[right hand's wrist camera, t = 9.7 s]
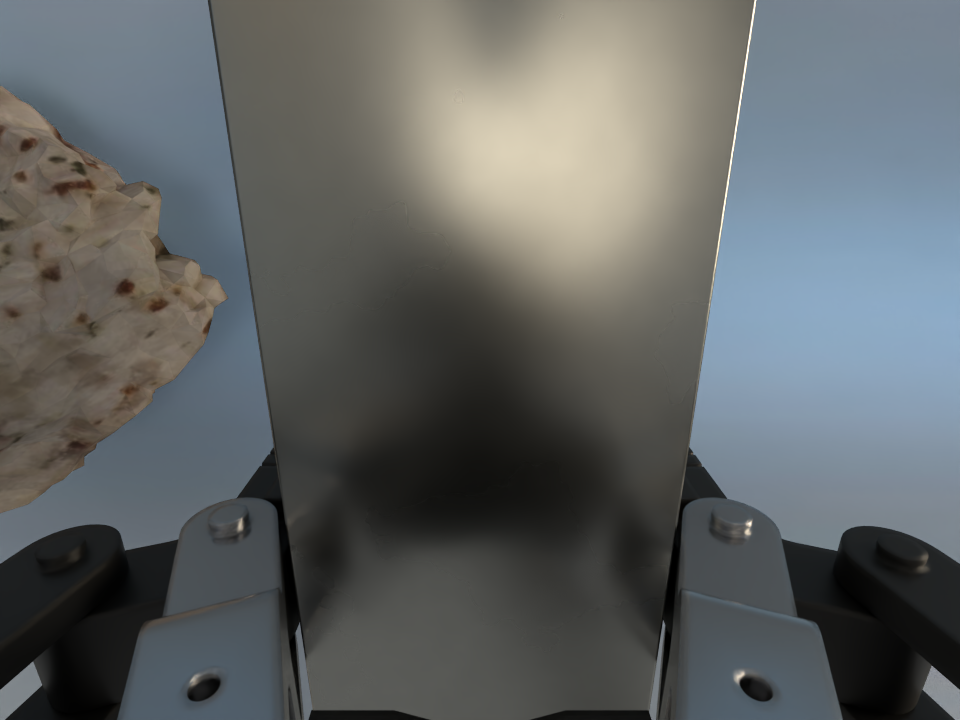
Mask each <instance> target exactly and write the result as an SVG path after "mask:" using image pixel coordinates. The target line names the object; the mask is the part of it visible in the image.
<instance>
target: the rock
mask: <svg viewBox="0 0 960 720" xmlns="http://www.w3.org/2000/svg"><path fill="white" fill-rule="evenodd" d="M160 207H161V195H160V192H159V189H158V188H156V187H154V186H152V185H150V184H148V183H145V182H143V181H141V182H137V183H133V184H128V185H126V184H125V183H124V182H123V180H122V178H121V176H120V174H119V173H118V172H117V171H116V169H115V168H112V167H111V166H109V165H107V164H106V163H104V162H102V161H101V160H99V159H97V158H96V157H94V156H92V155H90V154H89V153H87V152H85V151H83V150H81V149H79V148H77V147H75V146H74V145H72V144H70V143H68V142H66V141H64V140H63V138H62V137H61V135H60V134H59V132H58V131H57V129H56V128H54V127H53V126H52V125H51V124H50V123H49V122H48V121H47V120H46V119H44V118H43V117H42V116H41V115H40V114H39V113H38V112H37V111H36V110H35V109H34V108H33V107H31V106H30V105H29V104H26V103H24V102H22V101H21V100H20V99H18V98H17V97H16V96H14V95H13V94H12V93H10V92H9V91H7V90H6V89H5V88H3V87H2V86H0V513H2V512H5V511H9V510H12V509H15V508H18V507H21V506H24V505H27V504H29V503H30V502H32V501H33V500H34V499H36V498H37V497H39V496H40V495H41V494H43V493H44V492H45V491H46V490H47V489H48V488H50V487H51V486H52V485H53V484H55V483H57V482H60V481H62V480H63V479H64V478H66V477H67V476H68V475H69V474H70V473H71V472H72V471H74V470H76V469H78V468H80V467H82V466H84V456H86V455H87V454H88V453H90V452H91V451H93V450H94V449H95V448H96V444H97V443H98V442H100V441H102V440H103V439H105V438H106V437H108V436H109V435H111V434H112V433H114V432H115V431H116V430H118V429H119V428H120V427H121V426H123V425H124V424H125V423H127V422H128V421H129V420H130V419H132V418H133V417H134V416H136V415H137V414H138V413H139V412H140V411H142V410H143V409H144V408H145V407H146V406H147V405H149V404H150V403H151V402H152V401H153V399H152V394H153V393H154V392H155V389H157V388H159V387H161V386H163V385H165V384H167V383H169V382H171V381H172V380H174V379H175V378H176V377H177V376H178V374H179V373H180V372H181V371H182V369H183V368H184V367H185V366H186V365H187V363H188V362H189V361H190V360H191V358H192V357H193V356H194V355H195V354H196V353H197V352H198V350H199V349H200V348H201V347H202V346H203V345H204V342H205V339H206V337H207V334H208V332H209V328H210V325H211V321H212V317H213V312H214V308H215V307H216V306H218V305H219V304H220V303H222V302H223V301H225V300H226V299H228V297H227V295H226V293H225V292H224V290H223V288H222V287H221V285H220V283H219V282H218V280H217V279H215V278H214V277H212V276H209V275H204V274H201V270H200V266H199V265H198V263H197V262H196V261H195V260H192V259H189V258H185V257H181V256H177V255H173V254H170V253H169V252H168V250H167V249H166V247H165V246H164V244H163V243H162V241H161V240H160V238H159V237H158V236H157V234H158V226H159V216H160Z"/></svg>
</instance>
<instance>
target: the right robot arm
mask: <svg viewBox="0 0 960 720" xmlns="http://www.w3.org/2000/svg"><path fill="white" fill-rule="evenodd" d="M663 620H664V623H665V632H664V638H663V645H662V656H661V668H660V680H659V691H658V703H657V715H656V720H955V719H954V718H952V717H951V716H950V715H949V714H948V713H947V712H946V711H945V710H944V709H943V708H942V707H941V706H939V705H938V704H937V703H936V702H935V701H934V700H933V699H932V698H931V697H930V696H929V695H928V694H926V693H925V692H924V691H923V690H922V689H923V687H924V684H925V681H926V679H927V676H928V674H929V671H930V668H931V666H933V667H934V668H935V669H937V670H938V671H939V672H940V673H941V674H942V675H944V676H945V677H946V678H947V679H948V680H949V681H950V682H952V683H953V684H954V685H955V686H956V687H957V688H959V689H960V564H959V563H958V562H956V561H955V560H953V559H951V558H950V557H948V556H947V555H945V554H944V553H942V552H941V551H939V550H938V549H936V548H934V547H933V546H931V545H929V544H928V543H926V542H924V541H922V540H920V539H917V538H915V537H913V536H910V535H907V534H905V533H902V532H898V531H895V530H891V529H887V528H882V527H874V526H859V527H854V528H850V529H848V530H846V531H845V532H844V533H843V535H842V537H841V541H840V544H839V548H838V551H834V550H829V549H824V548H819V547H814V546H809V545H804V544H799V543H795V542H790V541H787V540H783V539H781V534H780V532H779V529H778V527H777V526H776V524H775V523H774V522H773V521H772V520H771V519H770V518H769V517H767V516H766V515H765V514H763V513H762V512H760V511H759V510H757V509H755V508H753V507H751V506H749V505H746V504H744V503H741V502H737V501H734V500H730V499H727V498H726V496H725V495H724V494H723V492H722V491H721V490H720V488H719V487H718V485H717V484H716V483H715V481H714V480H713V479H712V477H711V476H710V475H709V473H708V472H707V471H706V469H705V468H704V467H702V464H701V462H700V461H699V460H698V458H697V457H696V456H695V455H693V452H692V450H691V449H690V448H689V450H688V457H687V464H686V470H685V477H684V483H683V490H682V497H681V503H680V510H679V517H678V523H677V530H676V536H675V543H674V550H673V556H672V563H671V570H670V576H669V583H668V589H667V596H666V603H665V609H664V616H663ZM299 622H300V619H299V612H298V605H297V599H296V592H295V585H294V578H293V572H292V565H291V558H290V551H289V545H288V538H287V531H286V524H285V518H284V511H283V504H282V497H281V491H280V484H279V477H278V470H277V464H276V457H275V450H274V448H273V449H272V450H271V452H270V455H268V456H267V457H266V459H265V460H264V461H263V463H262V466H260V467H259V468H258V470H257V471H256V472H255V474H254V475H253V476H252V478H251V479H250V481H249V482H248V483H247V485H246V486H245V487H244V489H243V490H242V492H241V493H240V494H239V496H238V497H237V498H236V499H230V500H226V501H223V502H219V503H216V504H214V505H211V506H209V507H207V508H205V509H203V510H201V511H200V512H198V513H197V514H195V515H194V516H193V517H191V518H190V519H189V520H188V521H187V522H186V523H185V524H184V526H183V527H182V529H181V532H180V535H179V539H178V540H174V541H170V542H166V543H161V544H156V545H151V546H146V547H141V548H136V549H131V550H126V551H125V549H124V546H123V542H122V538H121V535H120V533H119V531H117V530H116V529H115V528H113V527H111V526H107V525H84V526H78V527H73V528H69V529H65V530H62V531H59V532H56V533H53V534H51V535H48V536H46V537H44V538H42V539H40V540H38V541H36V542H34V543H32V544H30V545H29V546H27V547H25V548H24V549H22V550H21V551H19V552H18V553H16V554H15V555H13V556H12V557H10V558H9V559H7V560H5V561H4V562H2V563H1V564H0V689H1V688H3V687H4V686H5V685H6V684H7V683H8V682H10V681H11V680H12V679H13V678H14V677H15V676H16V675H18V674H19V673H20V672H21V671H22V670H23V669H25V668H26V667H27V666H28V665H29V664H30V663H31V662H34V664H35V667H36V669H37V672H38V675H39V677H40V680H41V683H42V686H41V687H40V688H39V689H38V690H37V691H36V692H35V693H34V694H32V695H31V696H30V697H29V698H28V699H27V700H26V701H25V702H24V703H23V704H22V705H21V706H19V707H18V708H17V709H16V710H15V711H14V712H13V713H12V714H11V715H10V716H9V717H8V718H7V719H5V720H304V715H303V703H302V691H301V679H300V667H299V656H298V645H297V638H296V630H297V627H298V625H299ZM309 720H429V719H425V718H422V717H418V716H414V715H410V714H407V713H403V712H399V711H395V710H312V711H311V714H310V717H309ZM531 720H651V717H650V714H649V711H648V710H565V711H561V712H557V713H553V714H550V715H546V716H542V717H538V718H535V719H531Z"/></svg>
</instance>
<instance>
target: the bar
mask: <svg viewBox="0 0 960 720" xmlns="http://www.w3.org/2000/svg"><path fill="white" fill-rule="evenodd" d="M208 4H209V11H210V18H211V25H212V31H213V38H214V45H215V52H216V58H217V65H218V72H219V79H220V85H221V92H222V99H223V106H224V112H225V119H226V126H227V133H228V139H229V146H230V153H231V160H232V166H233V173H234V180H235V187H236V193H237V200H238V207H239V214H240V220H241V227H242V234H243V241H244V247H245V254H246V261H247V268H248V275H249V281H250V288H251V295H252V302H253V308H254V315H255V322H256V329H257V335H258V342H259V349H260V356H261V362H262V369H263V376H264V383H265V389H266V396H267V403H268V410H269V416H270V423H271V430H272V437H273V443H274V450H275V457H276V464H277V470H278V477H279V484H280V491H281V497H282V504H283V511H284V518H285V524H286V531H287V538H288V545H289V551H290V558H291V565H292V572H293V578H294V585H295V592H296V599H297V605H298V612H299V619H300V626H301V633H302V639H303V646H304V653H305V660H306V666H307V673H308V680H309V687H310V693H311V700H312V707H313V710H395V711H399V712H403V713H407V714H410V715H414V716H418V717H422V718H425V719H429V720H531V719H535V718H538V717H542V716H546V715H550V714H553V713H557V712H561V711H565V710H648V711H649V709H650V702H651V695H652V689H653V682H654V676H655V669H656V662H657V656H658V649H659V642H660V636H661V629H662V623H663V616H664V609H665V603H666V596H667V589H668V583H669V576H670V570H671V563H672V556H673V550H674V543H675V536H676V530H677V523H678V517H679V510H680V503H681V497H682V490H683V483H684V477H685V470H686V464H687V457H688V450H689V444H690V437H691V430H692V424H693V417H694V411H695V404H696V397H697V391H698V384H699V377H700V371H701V364H702V358H703V351H704V344H705V338H706V331H707V324H708V318H709V311H710V305H711V298H712V291H713V285H714V278H715V271H716V265H717V258H718V252H719V245H720V238H721V232H722V225H723V218H724V212H725V205H726V199H727V192H728V185H729V179H730V172H731V165H732V159H733V152H734V146H735V139H736V132H737V126H738V119H739V112H740V106H741V99H742V92H743V86H744V79H745V73H746V66H747V59H748V53H749V46H750V39H751V33H752V26H753V20H754V13H755V6H756V0H208Z"/></svg>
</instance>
